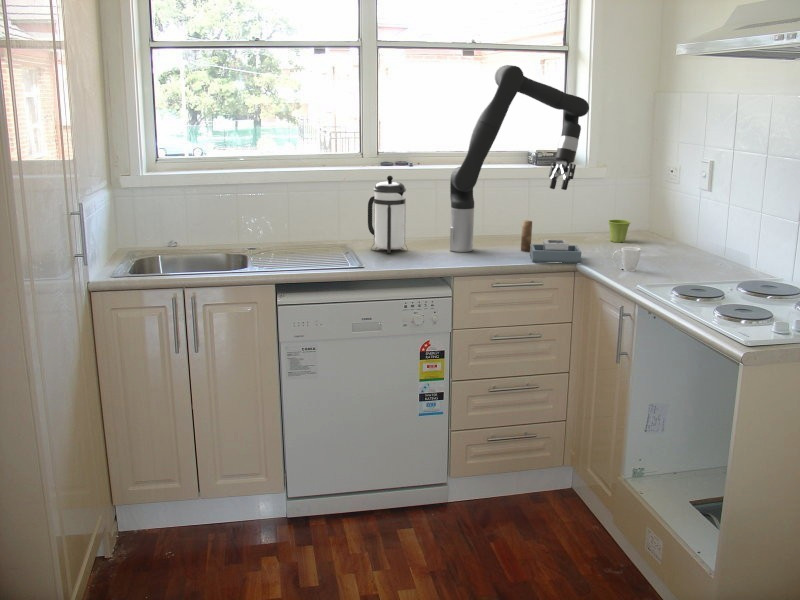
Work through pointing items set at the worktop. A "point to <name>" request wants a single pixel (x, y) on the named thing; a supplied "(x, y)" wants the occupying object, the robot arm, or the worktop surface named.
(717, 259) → the worktop surface
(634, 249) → the cup
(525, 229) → the peg
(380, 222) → the coffee press
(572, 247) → the bin
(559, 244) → the bore block
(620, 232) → the plant pot
